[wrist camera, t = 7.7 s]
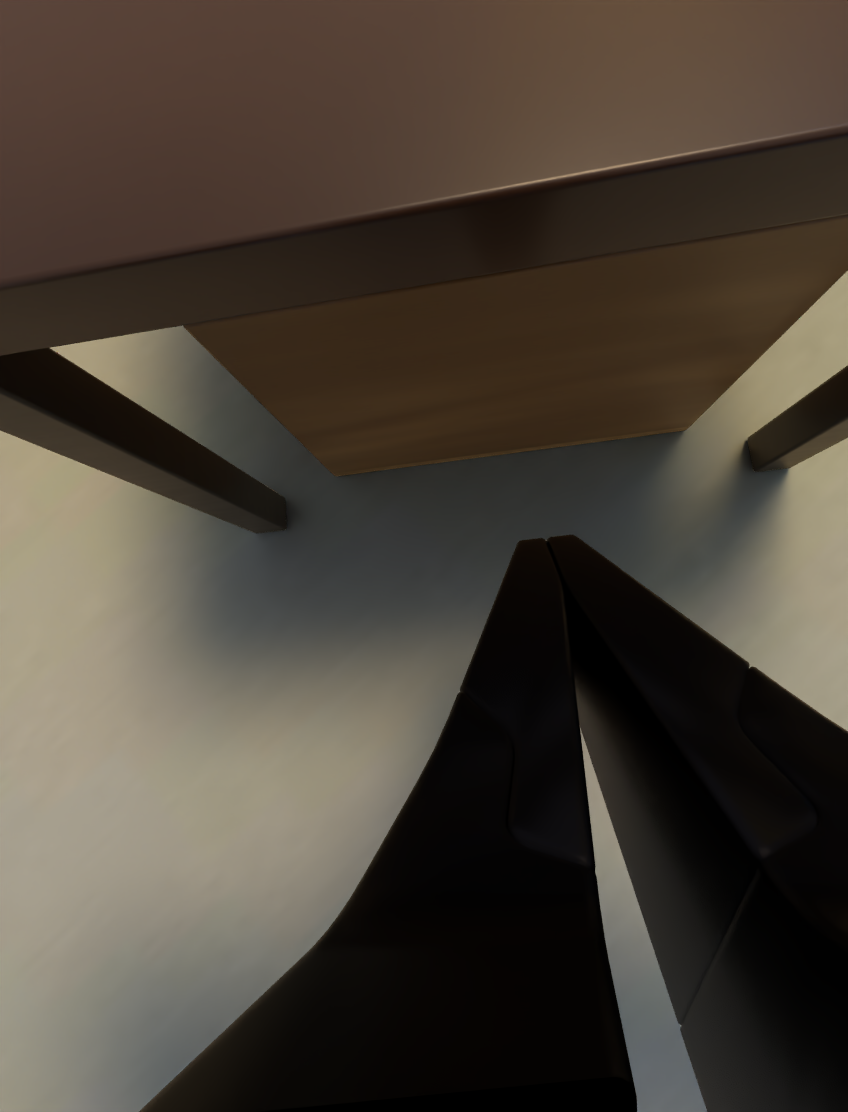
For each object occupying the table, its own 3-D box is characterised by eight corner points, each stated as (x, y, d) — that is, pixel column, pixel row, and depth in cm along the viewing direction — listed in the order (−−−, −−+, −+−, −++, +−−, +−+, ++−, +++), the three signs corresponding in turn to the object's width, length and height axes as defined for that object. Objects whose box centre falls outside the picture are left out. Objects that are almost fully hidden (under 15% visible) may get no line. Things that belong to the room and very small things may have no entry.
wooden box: (686, 430, 15) (917, 205, 7) (334, 477, 16) (180, 327, 8) (641, 175, 16) (794, -273, 8) (316, 233, 17) (166, -111, 9)
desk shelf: (791, 468, 14) (1759, -35, 3) (255, 534, 16) (-254, 330, 5) (716, 97, 16) (1206, -1039, 5) (236, 189, 17) (-176, -529, 7)
